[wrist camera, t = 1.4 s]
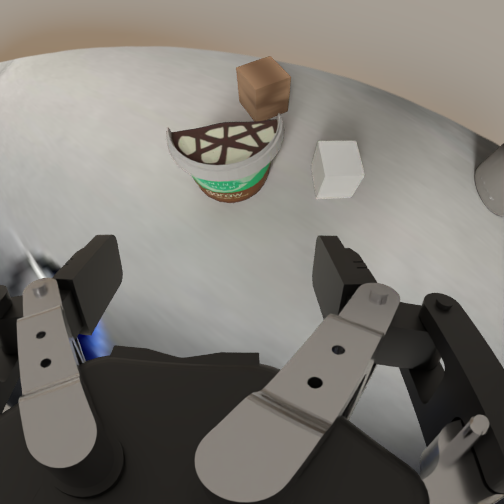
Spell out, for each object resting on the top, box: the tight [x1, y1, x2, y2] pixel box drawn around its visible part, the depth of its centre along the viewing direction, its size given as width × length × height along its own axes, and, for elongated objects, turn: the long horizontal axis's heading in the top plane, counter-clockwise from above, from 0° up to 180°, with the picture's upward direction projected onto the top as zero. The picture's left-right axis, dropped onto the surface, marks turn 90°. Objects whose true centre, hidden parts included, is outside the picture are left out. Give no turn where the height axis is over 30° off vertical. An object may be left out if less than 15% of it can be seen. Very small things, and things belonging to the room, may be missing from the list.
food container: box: [166, 113, 284, 203], centre depth 32 cm, size 12×6×10 cm, turn 96°
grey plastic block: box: [311, 141, 365, 199], centre depth 34 cm, size 4×4×6 cm
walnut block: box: [236, 56, 291, 121], centre depth 37 cm, size 5×5×7 cm
